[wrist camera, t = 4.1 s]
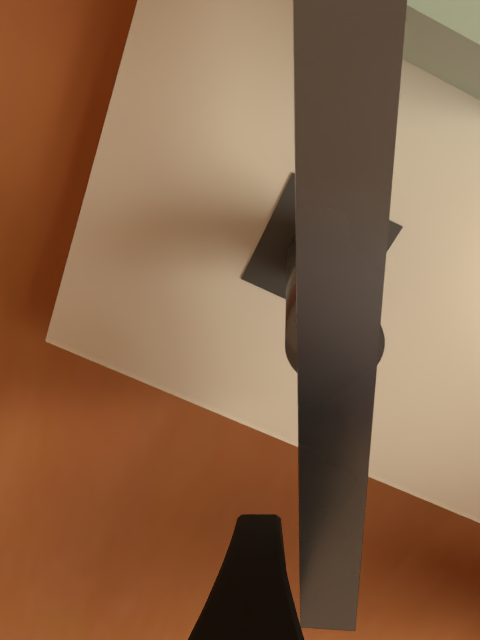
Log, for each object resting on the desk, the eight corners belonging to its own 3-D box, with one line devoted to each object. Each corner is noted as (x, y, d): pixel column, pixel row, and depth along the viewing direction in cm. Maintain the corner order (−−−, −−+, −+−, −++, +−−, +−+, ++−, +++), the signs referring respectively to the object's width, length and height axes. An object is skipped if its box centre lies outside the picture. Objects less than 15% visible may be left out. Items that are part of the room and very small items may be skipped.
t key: (364, -46, 9) (446, -197, 4) (341, 462, 14) (364, 631, 10) (280, -37, 9) (271, -172, 4) (290, 461, 15) (291, 626, 10)
